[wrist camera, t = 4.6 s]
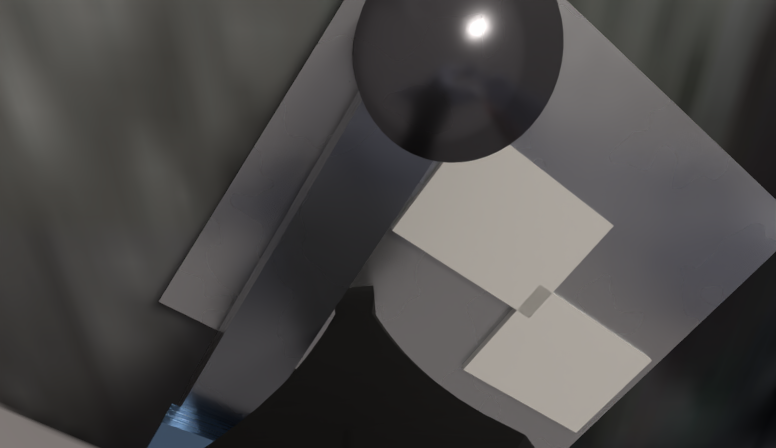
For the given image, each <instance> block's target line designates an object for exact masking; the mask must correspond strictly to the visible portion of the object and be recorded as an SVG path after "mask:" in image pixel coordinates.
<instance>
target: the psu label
mask: <svg viewBox="0 0 776 448" xmlns="http://www.w3.org/2000/svg"><path fill="white" fill-rule="evenodd" d="M613 226H614V225H612V224H611V223H610V222H608V221H607V220H606V219H605V218H603V217H602V216H601V215H599V214H598V213H597V212H596V211H594V210H593V209H592V208H590V207H589V206H588V205H587V204H585V203H584V202H583V201H581V200H580V199H579V198H578V197H576V196H575V195H574V194H572V193H571V192H570V191H569V190H567V189H566V188H565V187H563V186H562V185H561V184H560V183H558V182H557V181H556V180H554V179H553V178H552V177H551V176H549V175H548V174H547V173H546V172H544V171H543V170H542V169H540V168H539V167H538V166H537V165H535V164H534V163H533V162H531V161H530V160H529V159H528V158H526V157H525V156H524V155H522V154H521V153H520V152H519V151H517V150H516V149H515V148H513V147H512V146H511V145H508V146H507V147H505V148H503V149H502V150H500V151H498V152H496V153H494V154H491V155H489V156H487V157H483V158H480V159H477V160H473V161H467V162H456V163H447V162H441V163H440V164H439V165H438V166H437V168H436V169H435V170H434V172H433V173H432V174H431V176H430V177H429V178H428V180H427V181H426V182H425V184H424V185H423V186H422V188H421V189H420V190H419V192H418V193H417V194H416V196H415V197H414V198H413V200H412V201H411V202H410V204H409V205H408V206H407V208H406V209H405V210H404V212H403V213H402V214H401V216H400V217H399V218H398V220H397V221H396V222H395V224H394V225H393V226H392V231H394V232H395V233H397V234H398V235H400V236H401V237H403V238H405V239H406V240H408V241H409V242H411V243H412V244H414V245H416V246H417V247H419V248H420V249H422V250H423V251H425V252H426V253H428V254H430V255H431V256H433V257H434V258H436V259H437V260H439V261H441V262H442V263H444V264H445V265H447V266H448V267H450V268H452V269H453V270H455V271H456V272H458V273H459V274H461V275H463V276H464V277H466V278H467V279H469V280H470V281H472V282H474V283H475V284H477V285H478V286H480V287H481V288H483V289H484V290H486V291H488V292H489V293H491V294H492V295H494V296H495V297H497V298H499V299H500V300H502V301H503V302H505V303H506V304H508V305H510V306H511V307H513V308H514V309H516V310H518V308H520V306H521V305H523V303H524V302H525V301H526V300H527V299H528V297H529V296H530V295H531V294H532V293H533V292H534V291H535V290H536V288H537V287H538V286H539V285H541V286H543V287H544V288H545V289H547V291H548V290H549V291H550V292H551V294H552V293H553V292H554V291H555V289H556V288H557V287H558V286H559V285H560V284H561V283H562V282H563V281H564V280H565V279H566V277H567V276H568V275H569V274H570V273H571V272H572V271H573V270H574V269H575V268H576V267H577V265H578V264H579V263H580V262H581V261H582V260H583V259H584V258H585V257H586V256H587V255H588V253H589V252H590V251H591V250H592V249H593V248H594V247H595V246H596V245H597V244H598V243H599V241H600V240H601V239H602V238H603V237H604V236H605V235H606V234H607V233H608V232H609V231H610V229H611V228H612V227H613ZM539 289H540V288H539ZM537 291H538V290H537ZM541 291H542V290H541ZM535 292H536V291H535ZM535 292H534V293H535ZM539 292H540V290H539ZM543 292H544V291H543ZM545 292H546V290H545ZM532 295H533V294H532ZM536 295H537V294H536ZM538 295H539V294H538ZM540 295H541V293H540ZM542 295H543V294H542ZM544 295H545V294H544ZM534 296H535V295H534ZM540 297H541V296H540ZM548 297H549V296H548ZM535 298H536V297H535ZM537 298H538V297H537ZM542 298H543V297H542ZM544 298H545V296H544ZM546 298H547V296H546ZM529 299H530V298H529ZM529 301H530V300H529ZM531 301H532V297H531ZM533 301H534V300H533ZM535 301H536V299H535ZM537 301H538V299H537ZM539 301H540V299H539ZM526 302H527V301H526ZM528 304H529V302H528ZM530 304H531V302H530ZM524 305H525V304H524ZM534 306H535V305H534ZM536 306H537V305H536ZM538 306H539V305H538ZM521 307H522V306H521ZM534 308H535V307H534ZM536 308H537V307H536ZM538 308H539V307H538ZM523 309H524V306H523ZM519 310H520V309H519ZM521 310H522V309H521ZM525 310H526V309H525ZM523 311H524V310H523ZM533 311H534V310H533ZM535 311H536V310H535ZM527 312H528V310H527ZM529 312H530V310H529ZM531 314H532V313H531ZM533 314H534V313H533ZM524 315H525V314H524ZM526 315H527V314H526ZM528 315H529V314H528ZM530 317H531V316H530ZM528 318H529V317H528Z"/></svg>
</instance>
